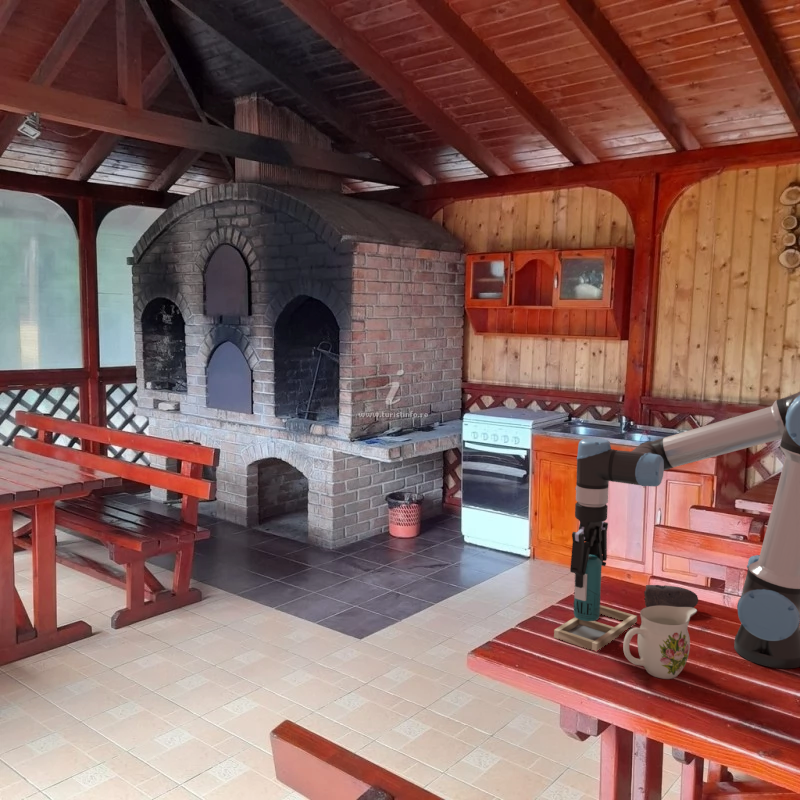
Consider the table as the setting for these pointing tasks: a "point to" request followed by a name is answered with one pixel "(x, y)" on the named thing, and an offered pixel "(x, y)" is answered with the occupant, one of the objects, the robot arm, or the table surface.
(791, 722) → the table surface
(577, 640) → the bottle rack
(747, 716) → the table surface
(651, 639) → the pitcher
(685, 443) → the robot arm
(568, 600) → the table surface
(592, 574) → the beverage bottle
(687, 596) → the perforated stone tool
